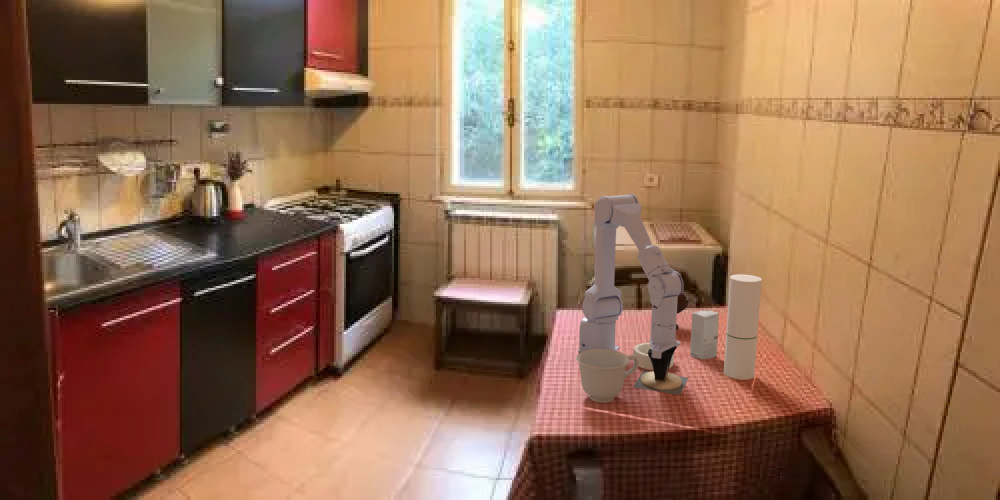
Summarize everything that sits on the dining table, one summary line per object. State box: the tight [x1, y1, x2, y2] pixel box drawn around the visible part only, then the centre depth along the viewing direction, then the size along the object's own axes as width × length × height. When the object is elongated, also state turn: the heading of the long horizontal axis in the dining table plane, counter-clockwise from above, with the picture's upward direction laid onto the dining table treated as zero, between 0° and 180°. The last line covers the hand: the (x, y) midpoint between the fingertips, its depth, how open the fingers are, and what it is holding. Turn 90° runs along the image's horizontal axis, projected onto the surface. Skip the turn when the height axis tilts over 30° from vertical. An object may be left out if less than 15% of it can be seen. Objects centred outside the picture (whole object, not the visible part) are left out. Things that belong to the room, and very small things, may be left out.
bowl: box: [632, 342, 675, 371], centre depth 173 cm, size 10×10×4 cm
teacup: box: [575, 349, 639, 404], centre depth 152 cm, size 12×15×10 cm
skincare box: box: [689, 309, 720, 360], centre depth 177 cm, size 6×4×12 cm
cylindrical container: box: [723, 273, 763, 381], centre depth 163 cm, size 7×7×25 cm
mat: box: [632, 370, 689, 396], centre depth 160 cm, size 11×11×1 cm
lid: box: [641, 367, 682, 390], centre depth 160 cm, size 10×10×5 cm
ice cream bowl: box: [676, 292, 690, 330], centre depth 201 cm, size 11×11×15 cm
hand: (661, 376), depth 160 cm, fingers closed on lid, 3 cm apart
